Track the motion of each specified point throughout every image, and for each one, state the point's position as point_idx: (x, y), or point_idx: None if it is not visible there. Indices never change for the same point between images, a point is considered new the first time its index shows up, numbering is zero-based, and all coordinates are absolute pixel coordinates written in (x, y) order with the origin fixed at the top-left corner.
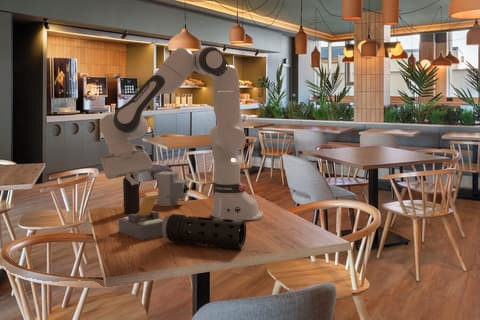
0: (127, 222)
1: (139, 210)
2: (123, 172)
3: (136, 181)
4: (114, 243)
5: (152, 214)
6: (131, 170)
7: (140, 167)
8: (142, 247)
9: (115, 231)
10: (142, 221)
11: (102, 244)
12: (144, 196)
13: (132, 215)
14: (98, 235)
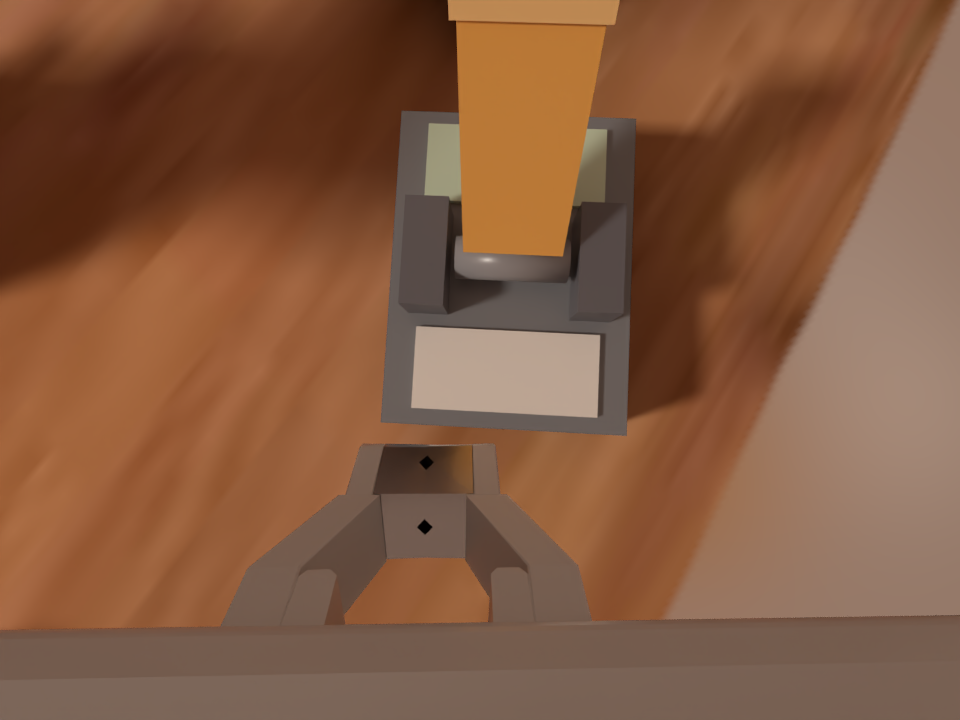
0: (629, 304)
1: (568, 224)
2: (753, 631)
3: (420, 454)
4: (760, 223)
5: (449, 222)
6: (449, 649)
7: (24, 697)
8: (686, 53)
9: (617, 445)
10: None
11: (822, 254)
12: (604, 34)
13: (622, 251)
14: (745, 441)
